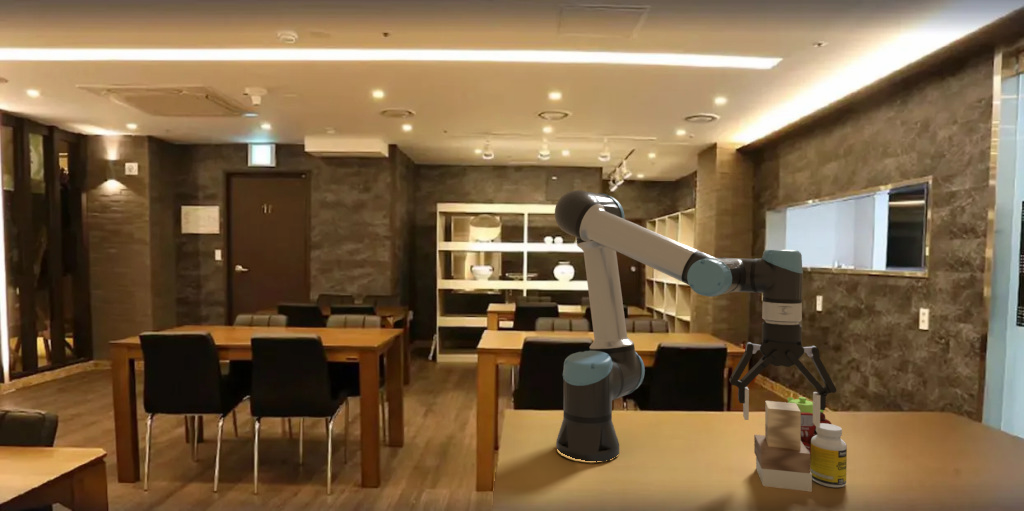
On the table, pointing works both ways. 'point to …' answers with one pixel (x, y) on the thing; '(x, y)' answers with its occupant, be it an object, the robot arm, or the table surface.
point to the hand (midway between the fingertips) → (780, 421)
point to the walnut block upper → (781, 457)
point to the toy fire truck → (809, 428)
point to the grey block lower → (784, 479)
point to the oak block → (783, 425)
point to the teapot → (803, 404)
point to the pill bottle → (828, 456)
